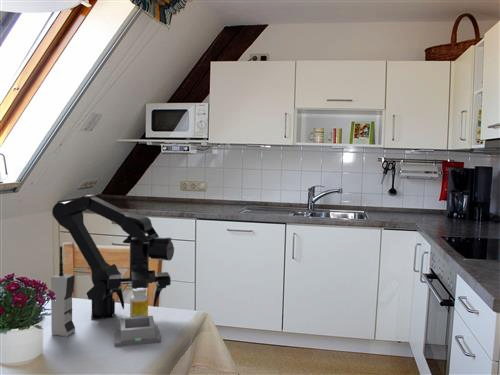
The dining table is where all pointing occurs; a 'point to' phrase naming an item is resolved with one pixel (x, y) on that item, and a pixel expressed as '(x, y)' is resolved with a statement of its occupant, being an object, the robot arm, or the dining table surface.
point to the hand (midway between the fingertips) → (138, 307)
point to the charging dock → (137, 331)
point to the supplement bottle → (139, 303)
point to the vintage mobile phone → (62, 302)
